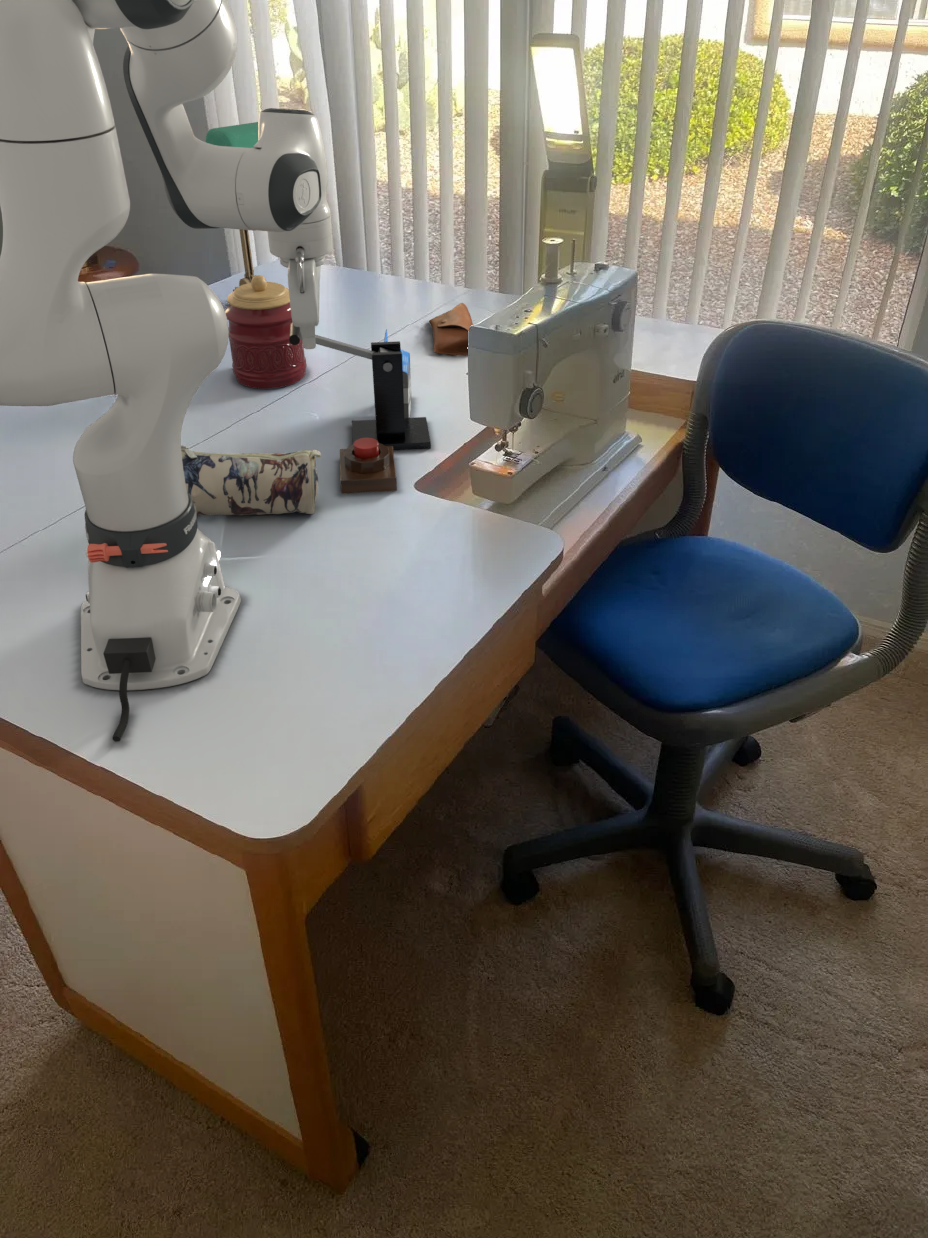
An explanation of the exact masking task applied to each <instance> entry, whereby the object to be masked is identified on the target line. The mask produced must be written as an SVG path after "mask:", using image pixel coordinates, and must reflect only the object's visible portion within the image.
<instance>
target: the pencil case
mask: <svg viewBox="0 0 928 1238" xmlns="http://www.w3.org/2000/svg"><path fill="white" fill-rule="evenodd" d="M181 453H182V462H183V471H184V477H185V483H186V488H187V492H188V493H189V494H190V495H191V497H192V500H193V503H194V506H195V508H196V513H197V514H196V515H197V516H217V515H220V516H221V515H222V516H252V515H257V516H261V515H272V514H273V515H281V514H293V513H295V512H297V513H300V514H304V515H314V514H315V511H316V510H315V509H316V501H317V499H318V498H317V497H318V491H319V475H318V472H317V462H316V461H317V460H316V457H317V458H321V455H322V453H321V452H320V451H319V450H317V449H312V450H310V449H304V450H299V451H293V452H287V453H277V452H276V453H275V452H274V453H273V452H272V453H270V452H269V453H216V452H215V453H214V452H202V451H194V450H192V449H191V448H189V447H187V446H186V445H183V444H181Z"/></svg>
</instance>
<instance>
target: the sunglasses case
mask: <svg viewBox="0 0 928 1238" xmlns="http://www.w3.org/2000/svg"><path fill="white" fill-rule="evenodd" d="M428 323H429V325H430V327H431V330H432V336H433V353H435V354H437V355H443V356H469V355H468V349H467V347H468V331H469V328H470V326H471V325H473V326H474V324H473V323H474V322H473V319H472V315H471V313H470V311H469V308H468V306H467V305H466V304H465V303H464V302H460V303H459V304H457V305H456V306H454V307H453V308H452V309H450V310H447V311H446V312H444V313H442V314H440V315H437V316H434V317H433V318H431V319H429V321H428Z"/></svg>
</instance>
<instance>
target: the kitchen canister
mask: <svg viewBox="0 0 928 1238" xmlns="http://www.w3.org/2000/svg"><path fill="white" fill-rule="evenodd" d="M236 287H237V288H236V289H235V288H234V289H235V291H233V290H232V292H231V293H228V295H227V297H226V299H227V300H226V301H227V303H228V305H227V307H226V308H225V309H224V310H225V313H226V316H227V321H228V327H229V338H228V343H229V347H230V348H229V349H230V353H231V361H232V363H231V367H232V373H233V374H234V377H235V381H237V382H238V384H240V385H243V386H245V387H248V388H251V389H261V390H262V389H264V390H267V389H279V388H285V387H288V386H291V385H294V384H296V383H298V382H300V381H301V380H302V379H304V378H305V376H306V372H307V366H308V365H307V359H306V358H307V357H305V355H306V354H305V348H304V347H303V340H300V342H299V344H297V345H292V344H291V343H290V342H289V334H290V325H291V323H293V322H292V317H291V308H290V298H289V287H286V286H284V285H283V284H281V283H278V282H274V281H267V279H266V277H265V276H263V275H262V274H261V275H260V274H258V275H257V274H256V276H255V275H254V277H253V278H252V281H251V283H247V284H244V285H241V286H239V285H238V286H236ZM229 304H230V305H229Z"/></svg>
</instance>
